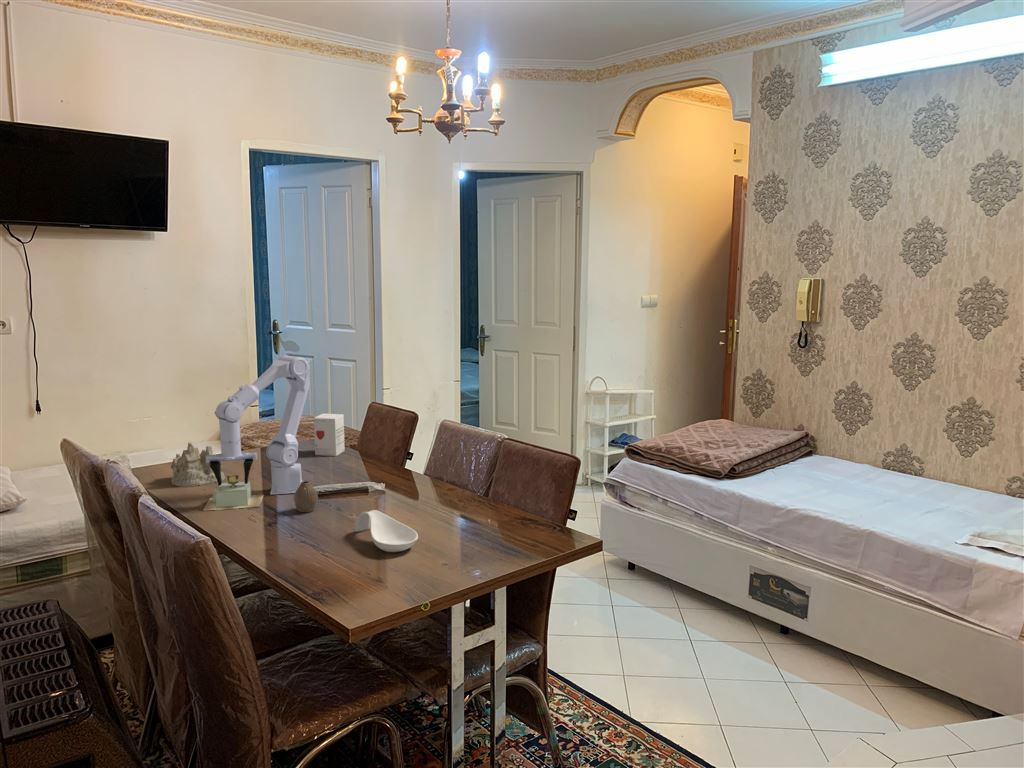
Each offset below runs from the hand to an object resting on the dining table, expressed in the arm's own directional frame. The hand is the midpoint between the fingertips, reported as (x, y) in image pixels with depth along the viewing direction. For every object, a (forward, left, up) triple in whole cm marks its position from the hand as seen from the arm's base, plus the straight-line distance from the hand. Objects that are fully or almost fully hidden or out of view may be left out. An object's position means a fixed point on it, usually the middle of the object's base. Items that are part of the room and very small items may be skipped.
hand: (233, 483), depth 229 cm
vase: (-22, +12, -6) cm, 26 cm away
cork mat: (0, 0, -6) cm, 6 cm away
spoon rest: (-43, +43, -7) cm, 61 cm away
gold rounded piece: (0, 0, -6) cm, 6 cm away
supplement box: (-28, -58, -6) cm, 65 cm away
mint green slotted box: (0, 0, -6) cm, 6 cm away
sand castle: (+16, -30, -7) cm, 34 cm away
